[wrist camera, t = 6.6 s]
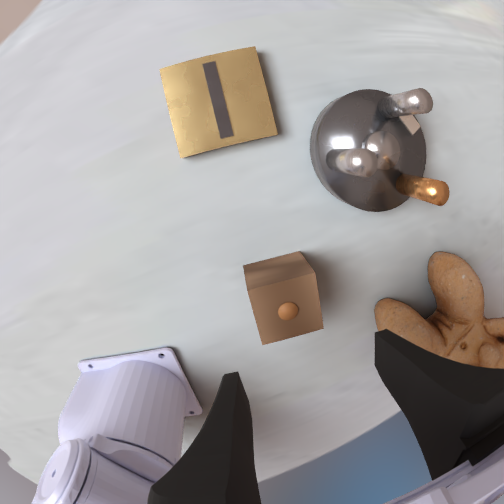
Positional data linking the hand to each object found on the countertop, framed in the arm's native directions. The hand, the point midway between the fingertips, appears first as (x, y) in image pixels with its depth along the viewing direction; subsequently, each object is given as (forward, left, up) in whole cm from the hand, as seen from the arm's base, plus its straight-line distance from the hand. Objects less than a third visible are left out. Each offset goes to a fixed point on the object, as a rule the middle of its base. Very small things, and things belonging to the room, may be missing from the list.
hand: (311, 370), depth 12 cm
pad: (-1, +13, -9) cm, 16 cm away
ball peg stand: (+8, +8, -9) cm, 15 cm away
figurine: (+13, -7, -10) cm, 18 cm away
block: (0, 0, -10) cm, 10 cm away
